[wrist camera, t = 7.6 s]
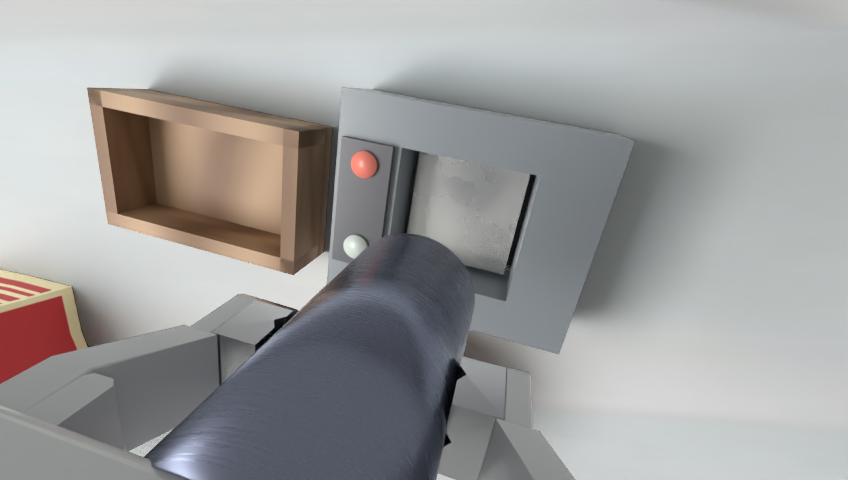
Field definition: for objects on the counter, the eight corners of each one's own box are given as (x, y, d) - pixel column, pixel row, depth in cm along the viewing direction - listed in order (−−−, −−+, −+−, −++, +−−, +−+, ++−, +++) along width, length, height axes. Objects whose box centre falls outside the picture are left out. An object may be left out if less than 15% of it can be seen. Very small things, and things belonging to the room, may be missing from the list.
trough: (332, 127, 21) (298, 131, 18) (323, 252, 24) (293, 275, 21) (146, 89, 23) (87, 87, 20) (158, 208, 26) (108, 223, 23)
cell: (488, 250, 11) (408, 620, 3) (460, 363, 13) (359, 811, 5) (356, 220, 12) (15, 465, 4) (345, 331, 13) (82, 675, 5)
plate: (530, 169, 19) (530, 172, 18) (504, 268, 21) (503, 274, 20) (424, 148, 20) (420, 149, 19) (408, 244, 22) (404, 249, 21)
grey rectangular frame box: (615, 133, 18) (638, 142, 14) (553, 316, 22) (559, 360, 18) (371, 89, 20) (337, 87, 16) (353, 263, 24) (322, 293, 20)
